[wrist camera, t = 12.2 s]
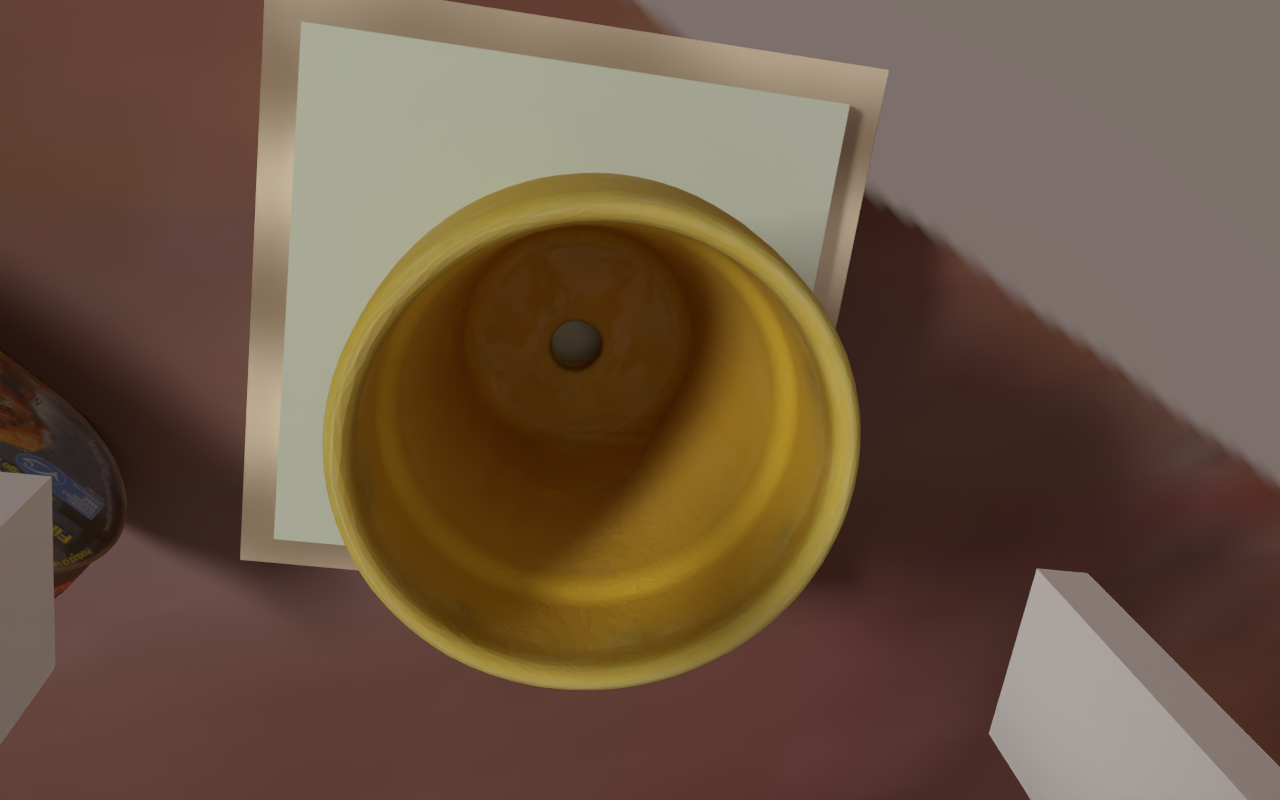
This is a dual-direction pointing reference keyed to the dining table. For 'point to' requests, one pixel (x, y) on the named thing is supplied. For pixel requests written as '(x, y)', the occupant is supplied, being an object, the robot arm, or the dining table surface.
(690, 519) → the plant pot
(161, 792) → the dining table surface
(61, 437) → the tin
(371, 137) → the plinth
